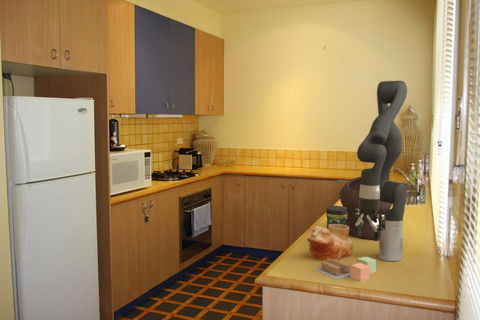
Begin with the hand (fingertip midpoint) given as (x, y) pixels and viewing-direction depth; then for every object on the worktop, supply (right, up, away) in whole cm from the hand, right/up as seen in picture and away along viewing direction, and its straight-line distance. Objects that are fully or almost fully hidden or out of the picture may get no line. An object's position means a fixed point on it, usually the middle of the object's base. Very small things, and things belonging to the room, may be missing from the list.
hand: (367, 238), depth 176 cm
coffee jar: (-4, -10, +41) cm, 42 cm away
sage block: (0, -14, +2) cm, 14 cm away
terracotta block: (-5, -15, -6) cm, 17 cm away
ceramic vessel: (-11, -12, +21) cm, 26 cm away
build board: (-12, -14, +1) cm, 18 cm away
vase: (+15, -9, +60) cm, 62 cm away
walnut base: (-12, -13, +1) cm, 17 cm away
